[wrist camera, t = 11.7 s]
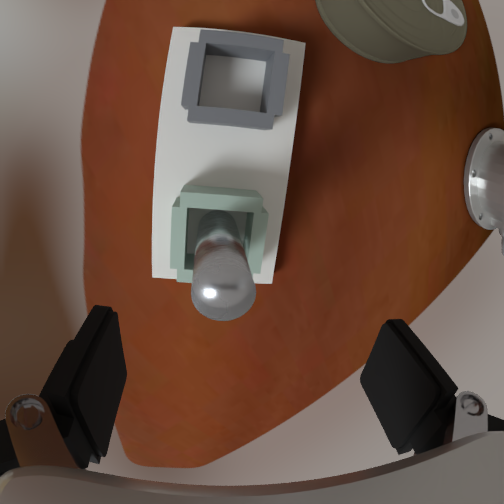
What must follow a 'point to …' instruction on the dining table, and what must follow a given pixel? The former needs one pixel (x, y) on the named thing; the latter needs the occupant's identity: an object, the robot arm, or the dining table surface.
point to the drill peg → (221, 269)
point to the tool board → (224, 143)
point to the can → (396, 27)
